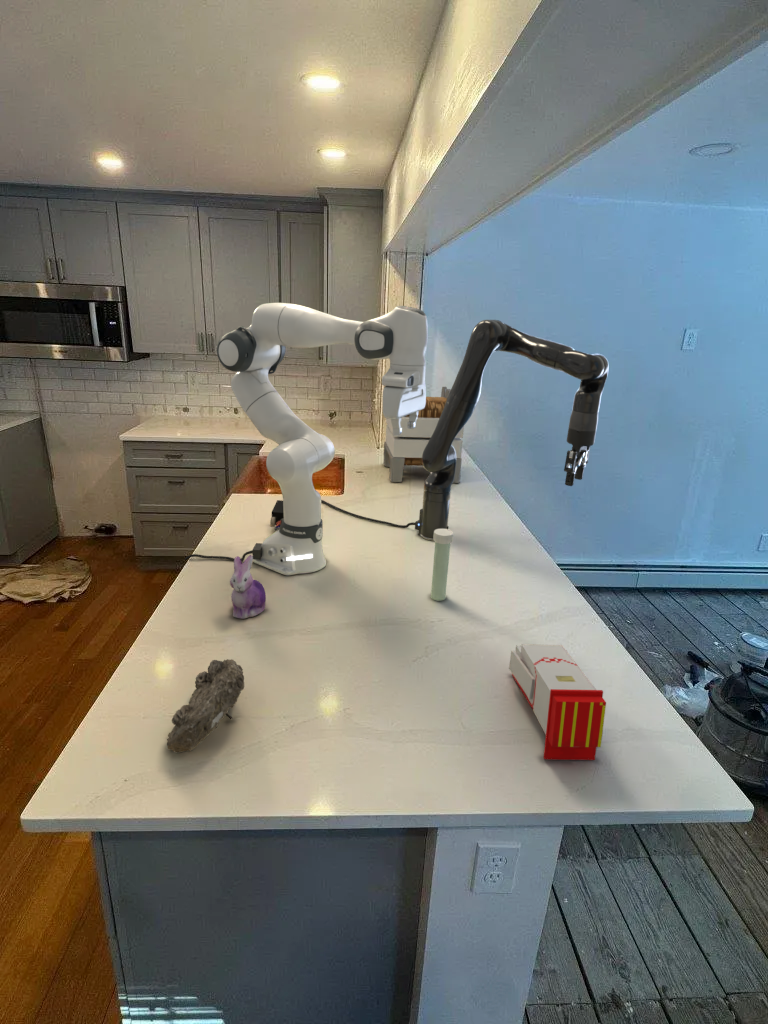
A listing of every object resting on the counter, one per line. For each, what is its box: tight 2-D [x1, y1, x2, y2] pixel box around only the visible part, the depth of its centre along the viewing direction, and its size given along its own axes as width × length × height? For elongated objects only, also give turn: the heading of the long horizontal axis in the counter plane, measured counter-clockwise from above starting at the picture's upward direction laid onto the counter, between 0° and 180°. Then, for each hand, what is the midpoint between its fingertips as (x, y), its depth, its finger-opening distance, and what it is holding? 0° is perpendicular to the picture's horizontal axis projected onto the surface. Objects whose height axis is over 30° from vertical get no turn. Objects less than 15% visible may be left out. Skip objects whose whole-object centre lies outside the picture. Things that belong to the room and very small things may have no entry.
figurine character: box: [269, 499, 284, 532], centre depth 201 cm, size 7×8×15 cm
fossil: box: [166, 658, 245, 754], centre depth 106 cm, size 22×10×15 cm
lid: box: [433, 528, 454, 544], centre depth 151 cm, size 5×5×2 cm
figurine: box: [229, 554, 267, 619], centre depth 143 cm, size 9×10×15 cm
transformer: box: [383, 386, 465, 484], centre depth 268 cm, size 34×33×41 cm
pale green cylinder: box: [430, 541, 451, 602], centre depth 154 cm, size 4×4×19 cm
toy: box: [508, 643, 607, 761], centre depth 112 cm, size 12×13×30 cm
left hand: (404, 431), depth 145 cm, fingers open, 8 cm apart
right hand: (573, 482), depth 165 cm, fingers open, 8 cm apart
